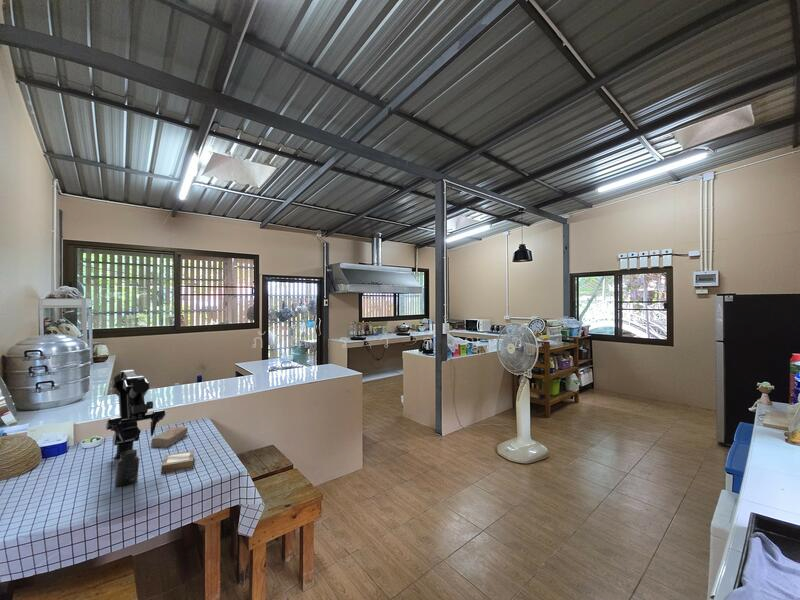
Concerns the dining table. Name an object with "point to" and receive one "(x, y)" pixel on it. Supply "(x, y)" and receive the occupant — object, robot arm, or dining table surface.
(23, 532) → the dining table surface
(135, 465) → the supplement bottle
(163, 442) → the brick
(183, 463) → the plate
